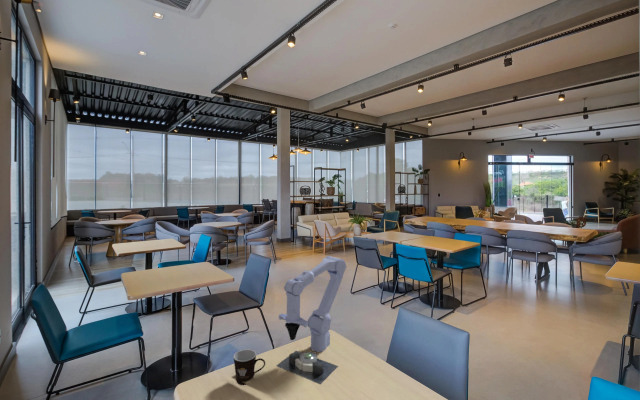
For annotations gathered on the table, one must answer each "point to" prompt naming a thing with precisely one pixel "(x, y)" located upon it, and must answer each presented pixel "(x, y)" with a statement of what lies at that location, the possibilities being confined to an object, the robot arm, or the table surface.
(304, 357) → the plate
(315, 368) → the knob
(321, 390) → the table surface
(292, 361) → the knob
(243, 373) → the coffee mug
